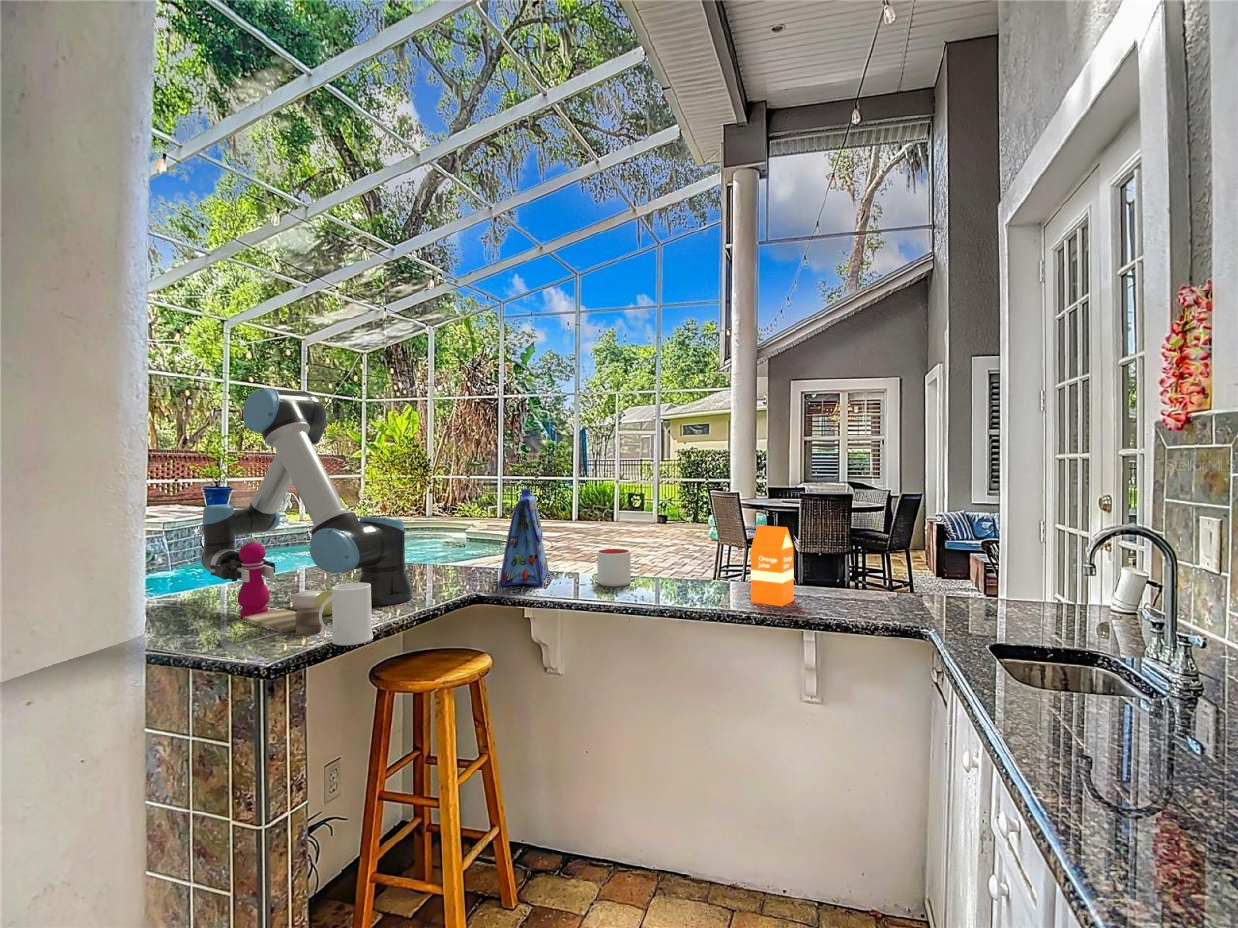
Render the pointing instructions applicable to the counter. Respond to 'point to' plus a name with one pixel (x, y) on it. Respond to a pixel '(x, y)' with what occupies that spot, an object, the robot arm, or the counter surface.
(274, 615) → the serving board
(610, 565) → the cup
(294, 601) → the white rounded piece
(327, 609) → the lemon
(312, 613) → the walnut block
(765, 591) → the orange juice
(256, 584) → the pepper mill
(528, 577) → the lunch bag
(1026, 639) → the counter surface
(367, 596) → the mug
